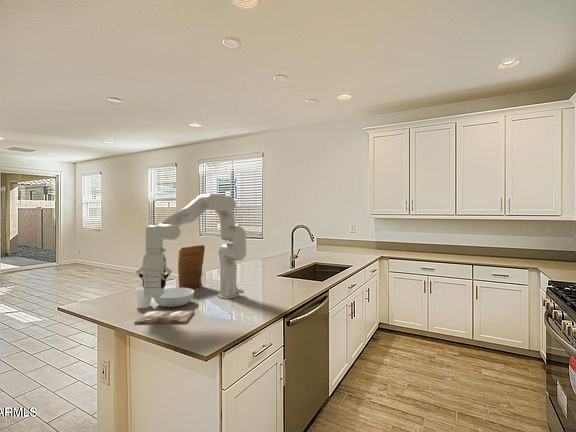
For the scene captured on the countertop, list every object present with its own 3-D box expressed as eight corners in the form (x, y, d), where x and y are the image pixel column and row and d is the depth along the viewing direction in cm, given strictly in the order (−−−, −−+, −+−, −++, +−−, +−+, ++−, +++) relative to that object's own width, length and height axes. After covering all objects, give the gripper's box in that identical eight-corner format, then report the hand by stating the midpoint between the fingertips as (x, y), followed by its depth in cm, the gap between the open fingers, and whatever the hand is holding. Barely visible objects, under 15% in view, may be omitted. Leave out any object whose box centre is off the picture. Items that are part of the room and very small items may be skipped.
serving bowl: (170, 313, 150) (170, 300, 150) (145, 306, 161) (145, 293, 161) (202, 303, 168) (202, 290, 168) (177, 297, 179) (177, 285, 179)
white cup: (155, 305, 163) (155, 286, 163) (143, 309, 156) (143, 290, 156) (143, 303, 166) (143, 285, 166) (132, 308, 158) (132, 289, 158)
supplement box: (149, 293, 148) (149, 268, 148) (164, 293, 149) (164, 268, 148) (143, 298, 141) (143, 271, 140) (159, 297, 141) (159, 271, 141)
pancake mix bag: (207, 286, 203) (207, 245, 202) (179, 292, 190) (179, 247, 189) (202, 285, 208) (202, 244, 207) (175, 289, 194) (175, 246, 194)
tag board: (194, 313, 151) (194, 309, 151) (186, 323, 137) (186, 320, 137) (147, 313, 150) (147, 310, 150) (134, 324, 136) (134, 320, 136)
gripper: (175, 250, 148) (175, 285, 149) (139, 250, 148) (139, 285, 148) (170, 252, 141) (169, 289, 141) (132, 252, 140) (132, 289, 140)
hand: (154, 287), depth 145 cm, fingers closed on supplement box, 7 cm apart
